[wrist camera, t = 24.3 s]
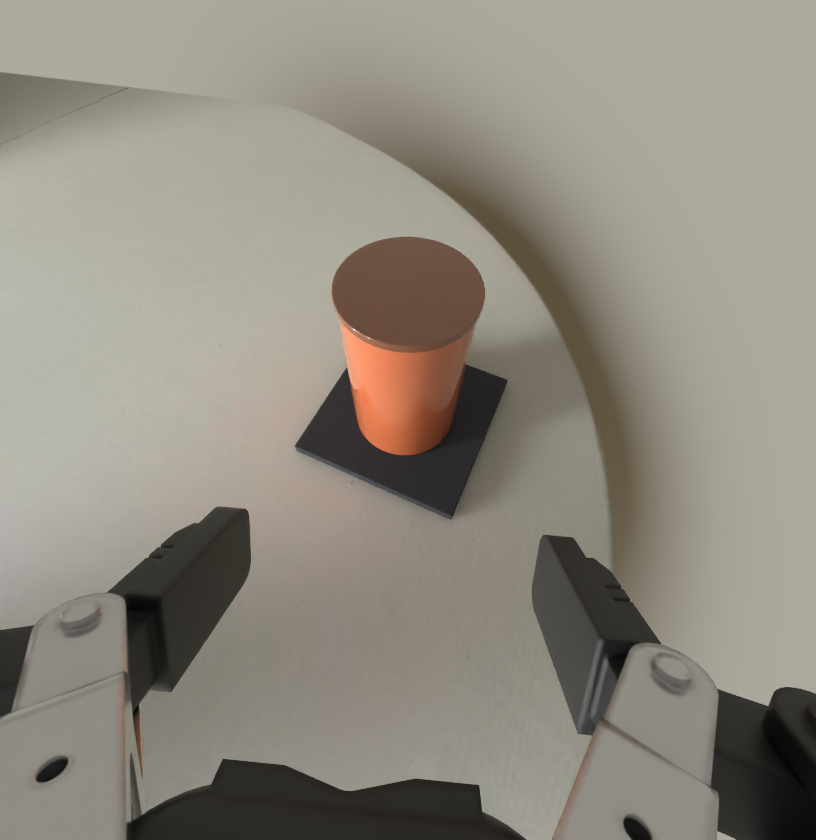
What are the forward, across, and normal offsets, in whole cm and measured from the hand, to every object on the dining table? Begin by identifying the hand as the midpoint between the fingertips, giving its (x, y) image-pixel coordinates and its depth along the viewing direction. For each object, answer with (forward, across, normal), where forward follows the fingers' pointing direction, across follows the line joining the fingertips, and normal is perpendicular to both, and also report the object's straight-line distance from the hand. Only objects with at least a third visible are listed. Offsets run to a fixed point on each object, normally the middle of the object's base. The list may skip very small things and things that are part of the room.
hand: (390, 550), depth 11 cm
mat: (+15, 0, 0) cm, 15 cm away
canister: (+15, 0, 0) cm, 15 cm away
